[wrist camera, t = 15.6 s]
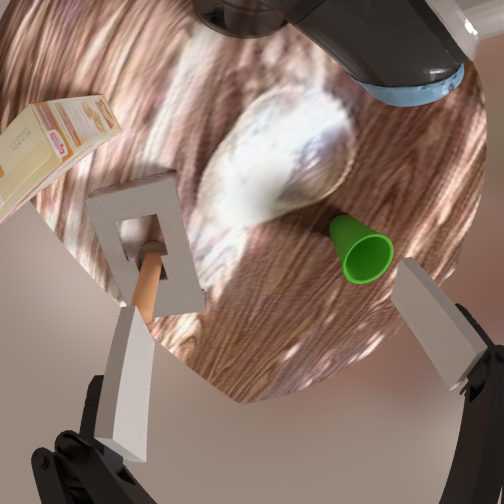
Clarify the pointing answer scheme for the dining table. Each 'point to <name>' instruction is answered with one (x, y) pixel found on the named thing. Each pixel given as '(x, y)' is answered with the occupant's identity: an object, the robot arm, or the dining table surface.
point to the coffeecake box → (49, 145)
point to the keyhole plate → (174, 233)
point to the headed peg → (148, 278)
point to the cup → (360, 249)
